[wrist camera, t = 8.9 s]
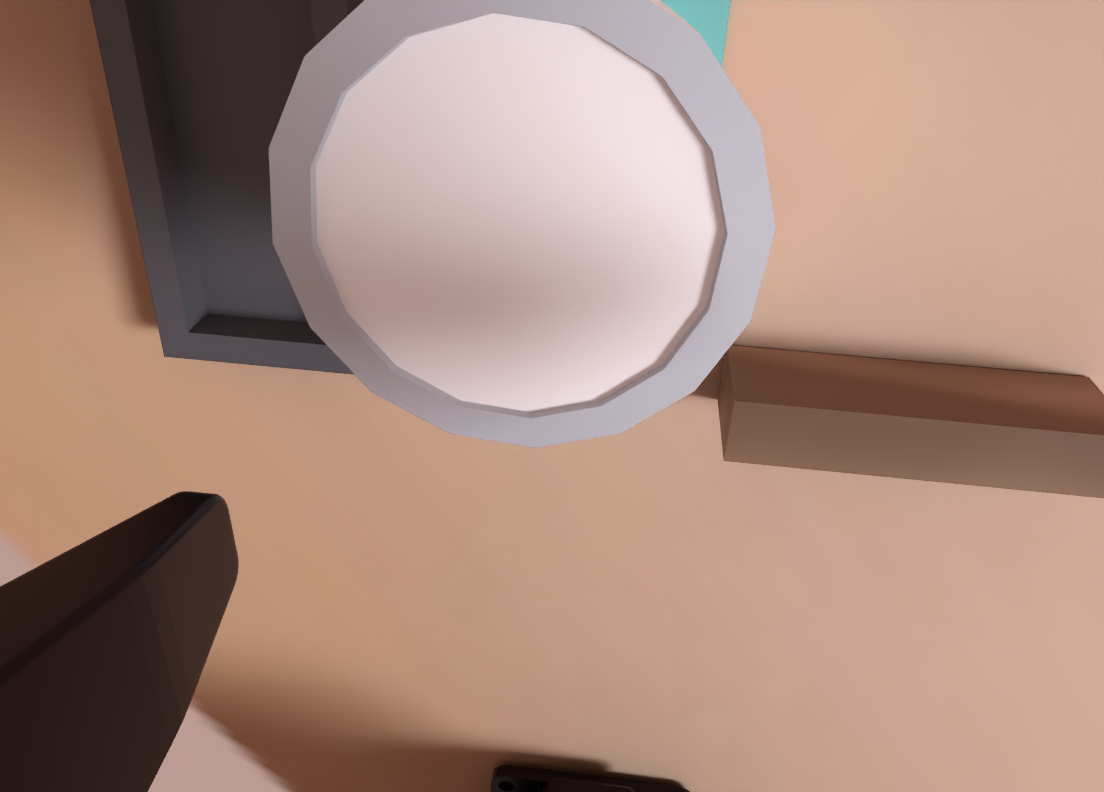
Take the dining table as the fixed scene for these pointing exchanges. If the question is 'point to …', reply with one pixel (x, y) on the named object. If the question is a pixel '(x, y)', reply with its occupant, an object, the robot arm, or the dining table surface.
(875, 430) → the brown bar
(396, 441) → the dining table surface
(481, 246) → the white cup
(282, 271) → the trap pit
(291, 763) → the dining table surface
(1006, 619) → the dining table surface
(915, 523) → the dining table surface
